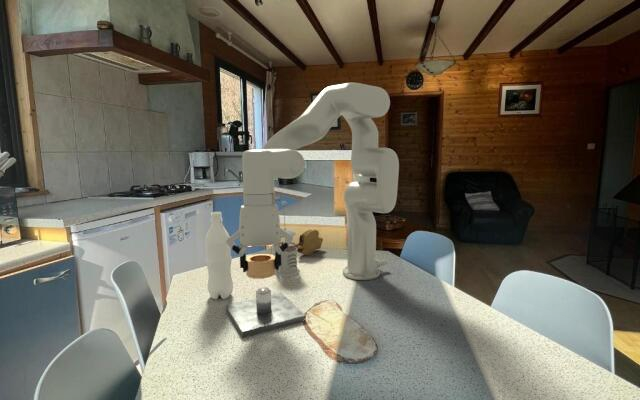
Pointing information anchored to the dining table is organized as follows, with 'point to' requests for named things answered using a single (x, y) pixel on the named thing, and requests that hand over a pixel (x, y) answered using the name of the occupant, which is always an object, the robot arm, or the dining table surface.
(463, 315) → the dining table surface
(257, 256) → the copper ring
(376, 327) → the dining table surface
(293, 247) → the french press
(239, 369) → the dining table surface
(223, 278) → the water bottle
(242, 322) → the block
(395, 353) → the dining table surface
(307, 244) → the wooden carving
